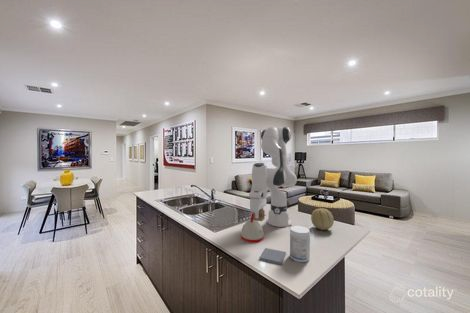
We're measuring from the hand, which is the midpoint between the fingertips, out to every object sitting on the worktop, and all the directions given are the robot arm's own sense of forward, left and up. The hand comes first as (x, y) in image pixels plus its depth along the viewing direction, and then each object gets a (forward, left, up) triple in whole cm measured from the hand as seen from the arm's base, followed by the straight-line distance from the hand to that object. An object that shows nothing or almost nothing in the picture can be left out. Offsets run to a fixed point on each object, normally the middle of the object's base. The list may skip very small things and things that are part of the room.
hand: (258, 216), depth 113 cm
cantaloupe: (-44, +33, -17) cm, 58 cm away
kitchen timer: (-10, -7, -17) cm, 21 cm away
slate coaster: (+8, +10, -17) cm, 21 cm away
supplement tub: (+3, +22, -17) cm, 29 cm away
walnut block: (0, 0, -2) cm, 2 cm away
